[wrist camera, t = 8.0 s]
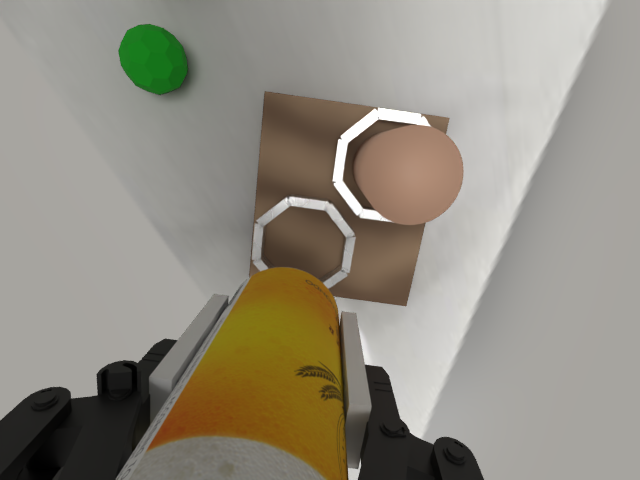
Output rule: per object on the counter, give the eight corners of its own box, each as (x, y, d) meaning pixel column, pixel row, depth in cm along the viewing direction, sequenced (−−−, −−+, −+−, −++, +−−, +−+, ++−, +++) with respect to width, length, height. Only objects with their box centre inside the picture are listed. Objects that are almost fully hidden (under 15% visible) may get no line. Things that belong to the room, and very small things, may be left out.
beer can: (314, 370, 20) (279, 904, 6) (221, 334, 20) (-63, 824, 5) (355, 285, 19) (441, 733, 4) (255, 245, 18) (-15, 600, 4)
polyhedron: (199, 96, 30) (176, 87, 25) (146, 99, 30) (113, 90, 26) (191, 34, 29) (165, 12, 24) (135, 37, 29) (99, 16, 24)
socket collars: (269, 94, 28) (265, 91, 27) (449, 120, 29) (455, 118, 27) (252, 281, 33) (249, 287, 32) (407, 302, 33) (410, 309, 32)
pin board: (267, 94, 30) (264, 91, 28) (443, 119, 30) (449, 117, 28) (251, 278, 35) (248, 284, 33) (403, 299, 35) (406, 306, 33)
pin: (358, 127, 29) (373, 117, 19) (426, 137, 29) (474, 132, 19) (347, 195, 31) (356, 218, 21) (412, 204, 31) (449, 231, 21)
